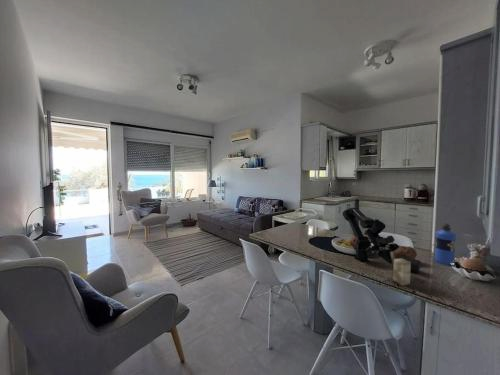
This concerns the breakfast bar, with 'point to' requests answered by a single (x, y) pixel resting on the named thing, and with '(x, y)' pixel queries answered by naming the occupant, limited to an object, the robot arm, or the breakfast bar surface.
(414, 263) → the end cap
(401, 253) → the decorative rock
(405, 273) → the beech block
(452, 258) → the water bottle
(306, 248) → the breakfast bar surface
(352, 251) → the bowl
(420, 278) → the breakfast bar surface
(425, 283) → the breakfast bar surface
